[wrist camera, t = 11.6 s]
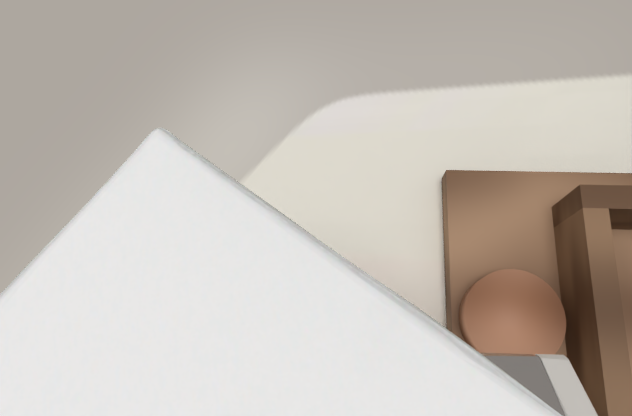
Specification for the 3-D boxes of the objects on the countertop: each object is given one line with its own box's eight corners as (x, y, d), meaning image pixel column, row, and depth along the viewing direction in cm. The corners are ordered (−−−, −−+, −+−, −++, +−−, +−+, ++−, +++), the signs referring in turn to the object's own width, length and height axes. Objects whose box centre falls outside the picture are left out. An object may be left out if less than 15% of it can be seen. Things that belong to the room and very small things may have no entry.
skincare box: (429, 392, 16) (646, 466, 4) (349, 512, 15) (363, 985, 4) (280, 277, 17) (154, 106, 6) (199, 381, 16) (-139, 422, 5)
